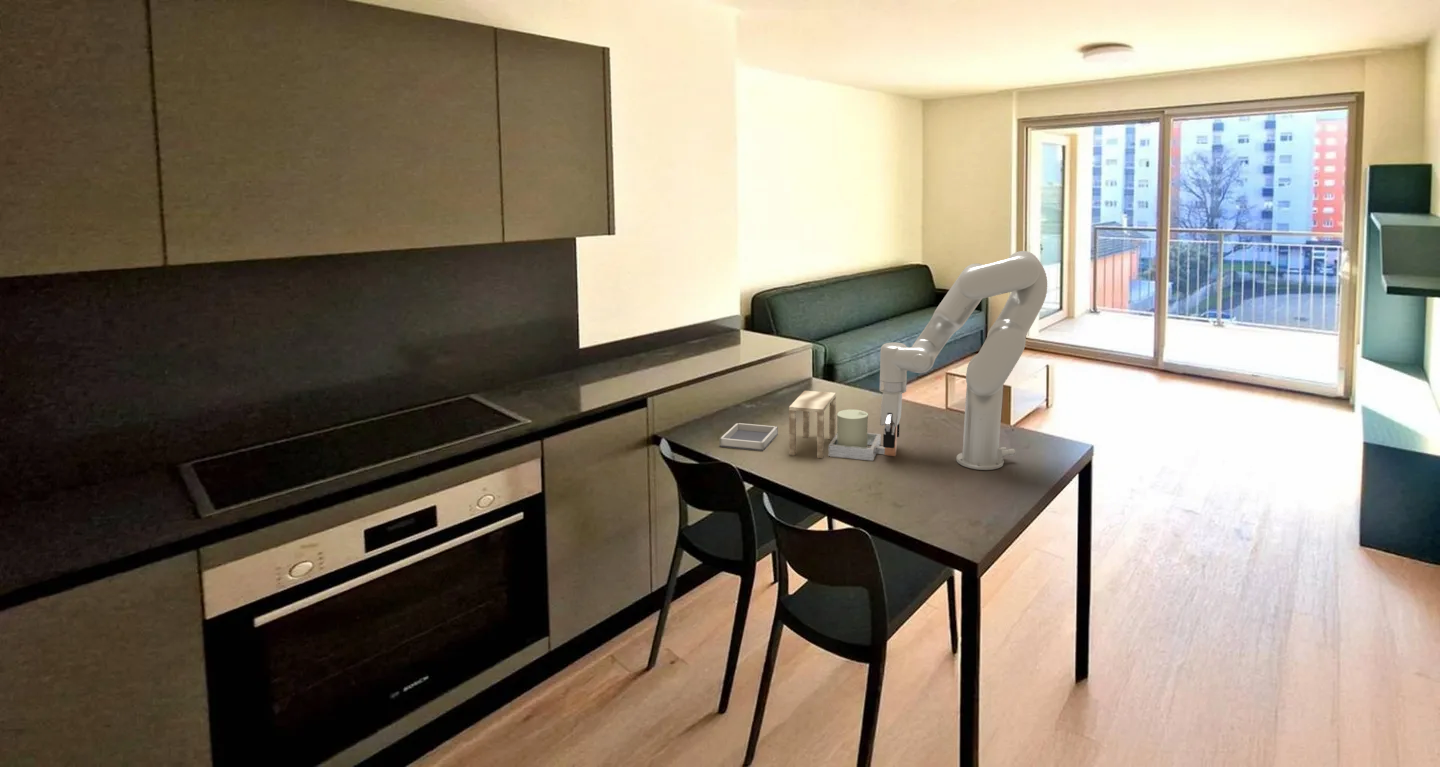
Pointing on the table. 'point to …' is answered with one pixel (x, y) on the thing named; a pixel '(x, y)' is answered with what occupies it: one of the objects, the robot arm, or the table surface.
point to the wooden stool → (808, 403)
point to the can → (852, 428)
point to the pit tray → (749, 436)
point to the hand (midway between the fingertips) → (891, 441)
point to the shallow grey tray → (862, 448)
